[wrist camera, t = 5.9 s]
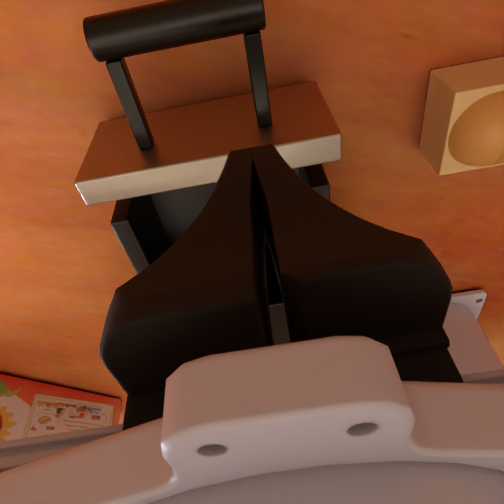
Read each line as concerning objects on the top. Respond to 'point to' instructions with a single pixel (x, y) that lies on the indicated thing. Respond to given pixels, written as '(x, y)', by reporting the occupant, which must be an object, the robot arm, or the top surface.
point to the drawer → (192, 126)
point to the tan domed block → (464, 117)
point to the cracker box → (50, 409)
